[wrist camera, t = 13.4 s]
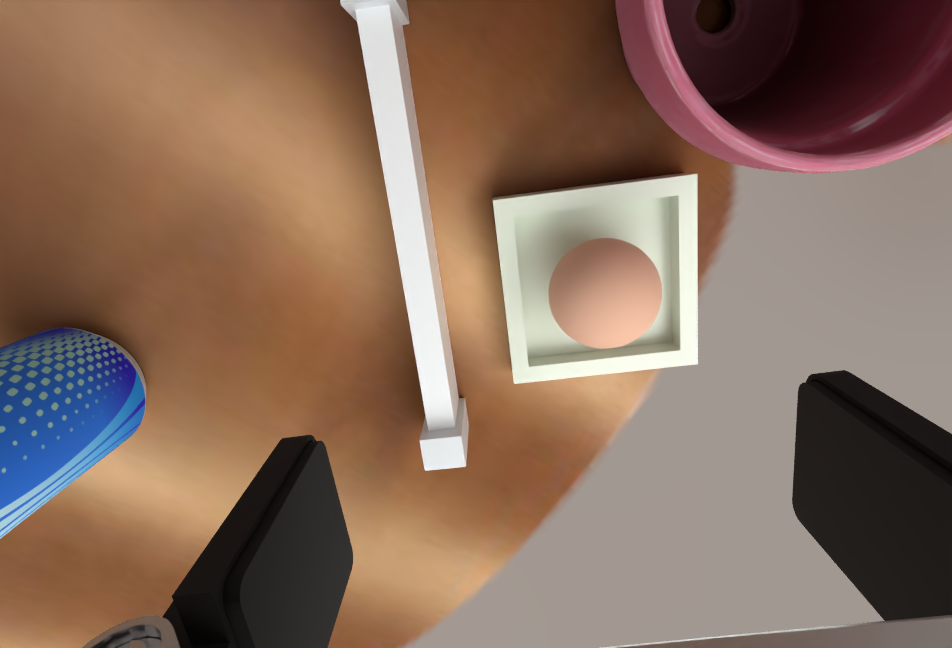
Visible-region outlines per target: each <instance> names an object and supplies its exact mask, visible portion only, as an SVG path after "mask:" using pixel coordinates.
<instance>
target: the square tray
mask: <svg viewBox="0 0 952 648" xmlns="http://www.w3.org/2000/svg"><path fill="white" fill-rule="evenodd" d="M493 207H494V216H495V224H496V233H497V242H498V250H499V259H500V267H501V276H502V285H503V293H504V302H505V311H506V319H507V328H508V337H509V345H510V354H511V363H512V371H513V380H514V384H518V383H527V382H537V381H546V380H555V379H564V378H573V377H583V376H592V375H601V374H610V373H620V372H629V371H638V370H647V369H657V368H666V367H674V366H684V365H693V364H698V323H697V322H698V276H697V174H693V173H678V174H671V175H663V176H655V177H648V178H640V179H632V180H624V181H617V182H609V183H601V184H594V185H586V186H578V187H570V188H563V189H555V190H547V191H539V192H532V193H524V194H516V195H509V196H501V197H493ZM598 238H615V239H619V240H623V241H626V242H629V243H631V244H633V245H635V246H637V247H638V248H639V249H641V250H642V251H643V252H644V253H645V254H646V255H647V256H648V257H649V258H650V259H651V260H652V262H653V263H654V265H655V267H656V268H657V271H658V273H659V276H660V279H661V284H662V301H661V306H660V309H659V312H658V315H657V317H656V319H655V320H654V322H653V324H652V325H651V326H650V328H649V329H648V330H647V331H646V332H645V333H644V334H643V335H642V336H640V337H639V338H637V339H636V340H634V341H633V342H631V343H628V344H626V345H624V346H620V347H616V348H609V349H601V348H594V347H589V346H586V345H583V344H581V343H579V342H577V341H575V340H574V339H572V338H571V337H569V336H568V335H567V334H566V333H565V332H564V331H563V330H562V329H561V328H560V327H559V325H558V324H557V322H556V321H555V319H554V317H553V315H552V312H551V309H550V304H549V296H548V290H549V283H550V279H551V276H552V274H553V271H554V269H555V267H556V266H557V264H558V263H559V261H560V260H561V258H562V257H563V256H564V255H565V254H566V253H567V252H569V251H570V250H571V249H572V248H574V247H576V246H577V245H579V244H581V243H583V242H586V241H589V240H593V239H598Z"/></svg>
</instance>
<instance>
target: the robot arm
mask: <svg viewBox="0 0 952 648" xmlns="http://www.w3.org/2000/svg"><path fill="white" fill-rule="evenodd" d="M797 405H798V406H797V422H796V441H795V459H794V478H793V497H792V502H793V508H794V511H795V514H796V516H797V518H798V520H799V521H800V522H801V523H802V525H803V526H804V527H805V528H806V529H807V530H808V532H809V533H810V534H811V535H812V536H813V537H814V539H815V540H816V541H817V542H818V543H819V545H820V546H821V547H822V548H823V549H824V550H825V552H826V553H827V554H828V555H829V556H830V557H831V559H832V560H833V561H834V562H835V563H836V564H837V566H838V567H839V568H840V569H841V570H842V571H843V573H844V574H845V575H846V576H847V577H848V578H849V580H850V581H851V582H852V583H853V584H854V585H855V586H856V588H857V589H858V590H859V591H860V592H861V594H863V596H864V597H865V598H866V599H867V601H868V602H869V603H870V604H871V605H872V606H873V607H874V609H875V610H876V611H877V612H878V613H879V614H880V616H881V617H882V618H883V619H884V620H885V621H880V622H870V623H869V622H868V623H857V624H846V625H836V626H824V627H813V628H802V629H791V630H781V631H770V632H758V633H747V634H737V635H726V636H716V637H705V638H696V639H685V640H674V641H664V642H653V643H642V644H632V645H622V646H611V647H602V648H952V434H951V433H949V432H947V431H946V430H944V429H942V428H941V427H939V426H937V425H936V424H934V423H932V422H931V421H929V420H927V419H926V418H924V417H923V416H921V415H919V414H917V413H916V412H914V411H913V410H911V409H909V408H908V407H906V406H904V405H903V404H901V403H899V402H898V401H896V400H894V399H893V398H891V397H889V396H888V395H886V394H884V393H883V392H881V391H879V390H878V389H876V388H874V387H872V386H871V385H869V384H868V383H866V382H864V381H863V380H861V379H860V378H858V377H856V376H855V375H853V374H851V373H849V372H847V371H845V370H843V371H834V372H826V373H818V374H811V375H810V376H809V377H808V379H807V381H806V383H802V384H801V385H800V386H799V391H798V404H797ZM352 565H353V551H352V546H351V543H350V539H349V535H348V531H347V527H346V523H345V520H344V516H343V512H342V508H341V504H340V500H339V497H338V493H337V489H336V485H335V481H334V477H333V474H332V470H331V466H330V462H329V458H328V455H327V451H326V447H325V445H324V443H323V442H322V441H316V440H315V438H314V437H313V436H312V435H306V436H298V437H290V438H282V439H281V440H280V441H279V443H278V444H277V446H276V447H275V449H274V450H273V452H272V453H271V454H270V456H269V457H268V459H267V460H266V462H265V463H264V465H263V466H262V467H261V469H260V470H259V472H258V473H257V475H256V476H255V477H254V479H253V480H252V482H251V483H250V485H249V486H248V488H247V489H246V490H245V492H244V493H243V495H242V496H241V498H240V499H239V500H238V502H237V503H236V505H235V506H234V508H233V509H232V511H231V512H230V513H229V515H228V516H227V518H226V519H225V521H224V522H223V523H222V525H221V526H220V528H219V529H218V531H217V532H216V534H215V535H214V536H213V538H212V539H211V541H210V542H209V544H208V545H207V547H206V548H205V549H204V551H203V552H202V554H201V555H200V557H199V558H198V559H197V561H196V562H195V564H194V565H193V567H192V568H191V570H190V571H189V572H188V574H187V575H186V577H185V578H184V580H183V581H182V582H181V584H180V585H179V587H178V588H177V590H176V591H175V593H174V594H173V595H172V598H173V600H174V601H173V602H172V604H171V605H170V607H169V608H168V610H167V611H166V612H165V614H164V615H163V617H160V616H142V617H138V618H135V619H131V620H127V621H125V622H123V623H121V624H118V625H116V626H114V627H112V628H110V629H108V630H106V631H105V632H103V633H102V634H100V635H98V636H97V637H95V638H94V639H92V640H91V641H90V642H88V643H87V644H86V645H85V646H84V647H82V648H327V647H328V644H329V641H330V637H331V634H332V631H333V628H334V625H335V621H336V618H337V615H338V612H339V608H340V605H341V602H342V599H343V596H344V592H345V589H346V586H347V583H348V579H349V576H350V573H351V570H352Z"/></svg>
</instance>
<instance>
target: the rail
mask: <svg viewBox="0 0 952 648" xmlns="http://www.w3.org/2000/svg"><path fill="white" fill-rule="evenodd" d="M340 2H341V6H342V7H343V8H344V9H345V10H346V11H347V12H348V13H349V14H350V15H351V16H352V17H353V18H354V19H355V20H356V21H357V23H358V29H359V35H360V41H361V46H362V52H363V58H364V64H365V69H366V75H367V81H368V87H369V92H370V98H371V104H372V110H373V115H374V121H375V127H376V133H377V138H378V144H379V150H380V156H381V161H382V167H383V173H384V179H385V184H386V190H387V196H388V202H389V207H390V213H391V219H392V225H393V230H394V236H395V242H396V248H397V254H398V259H399V265H400V271H401V277H402V282H403V288H404V294H405V300H406V305H407V311H408V317H409V323H410V328H411V334H412V340H413V346H414V351H415V357H416V363H417V369H418V374H419V380H420V386H421V392H422V397H423V403H424V409H425V415H426V416H425V420H424V424H423V428H422V432H421V436H420V446H421V451H422V457H423V463H424V468H425V471H428V470H438V469H448V468H458V467H466V459H467V445H468V430H469V422H468V415H467V408H466V402H465V398H459V396H458V389H457V383H456V376H455V369H454V363H453V356H452V349H451V343H450V336H449V330H448V323H447V316H446V310H445V303H444V296H443V290H442V283H441V277H440V270H439V263H438V257H437V250H436V244H435V237H434V230H433V224H432V217H431V210H430V204H429V197H428V191H427V184H426V177H425V171H424V164H423V157H422V151H421V144H420V138H419V131H418V124H417V118H416V111H415V105H414V98H413V91H412V85H411V78H410V71H409V65H408V58H407V52H406V45H405V38H404V32H403V25H407V24H410V21H409V15H408V8H407V1H406V0H340Z"/></svg>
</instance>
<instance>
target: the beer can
mask: <svg viewBox="0 0 952 648" xmlns="http://www.w3.org/2000/svg"><path fill="white" fill-rule="evenodd" d="M145 409H146V383H145V379H144V376H143V373H142V371H141V369H140V367H139V365H138V364H137V362H136V361H135V359H134V358H133V357H132V356H131V355H130V354H129V353H128V352H127V351H126V350H125V349H124V348H123V347H121V346H120V345H118V344H117V343H115V342H114V341H112V340H110V339H108V338H105V337H103V336H100V335H96V334H93V333H91V332H88V331H84V330H80V329H75V328H54V329H49V330H45V331H42V332H39V333H37V334H34V335H32V336H29V337H27V338H24V339H22V340H19V341H17V342H14V343H12V344H9V345H6V346H4V347H1V348H0V539H1V538H2V537H3V536H4V535H6V534H7V533H8V532H9V531H11V530H12V529H13V528H15V527H16V526H17V525H18V524H20V523H21V522H22V521H23V520H25V519H26V518H27V517H29V516H30V515H31V514H32V513H34V512H35V511H36V510H37V509H39V508H40V507H41V506H43V505H44V504H45V503H46V502H48V501H49V500H50V499H51V498H53V497H54V496H55V495H57V494H58V493H59V492H60V491H62V490H63V489H64V488H65V487H67V486H68V485H69V484H71V483H72V482H73V481H74V480H76V479H77V478H78V477H79V476H81V475H82V474H83V473H85V472H86V471H87V470H88V469H90V468H91V467H92V466H94V465H95V464H96V463H97V462H99V461H100V460H101V459H102V458H104V457H105V456H106V455H108V454H109V453H110V452H111V451H113V450H114V449H115V448H116V447H118V446H119V445H120V444H122V443H123V442H124V441H125V440H127V439H128V438H129V437H130V436H132V435H133V434H134V432H135V431H136V430H137V429H138V427H139V426H140V424H141V422H142V420H143V417H144V414H145Z"/></svg>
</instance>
